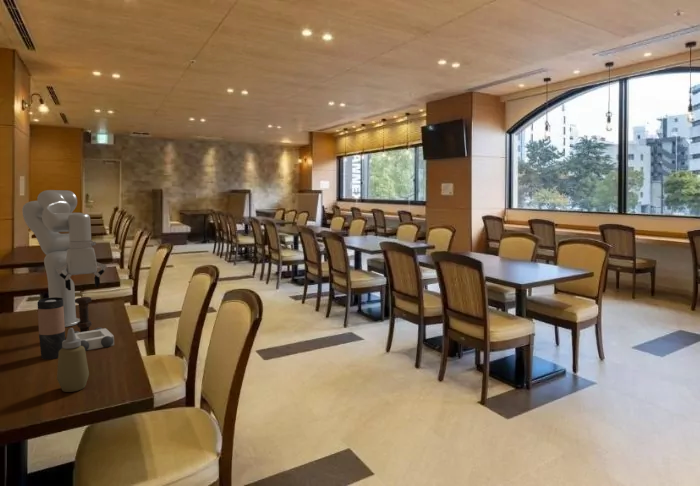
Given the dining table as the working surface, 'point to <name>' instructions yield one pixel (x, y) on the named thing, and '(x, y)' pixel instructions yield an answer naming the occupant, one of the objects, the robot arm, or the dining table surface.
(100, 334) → the chassis
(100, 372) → the dining table surface
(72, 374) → the squeeze bottle
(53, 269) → the robot arm
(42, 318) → the travel mug
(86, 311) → the bolt
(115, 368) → the dining table surface
